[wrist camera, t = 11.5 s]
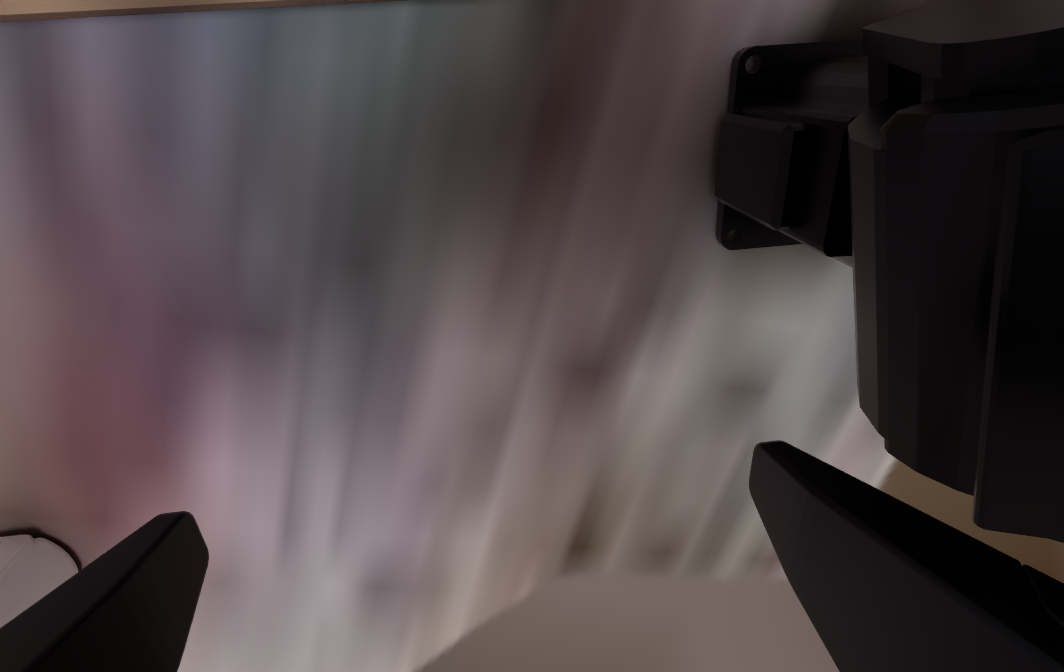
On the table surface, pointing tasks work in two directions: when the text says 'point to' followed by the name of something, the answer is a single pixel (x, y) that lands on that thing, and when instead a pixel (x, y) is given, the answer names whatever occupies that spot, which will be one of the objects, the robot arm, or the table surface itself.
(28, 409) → the table surface
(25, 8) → the base board
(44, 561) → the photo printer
